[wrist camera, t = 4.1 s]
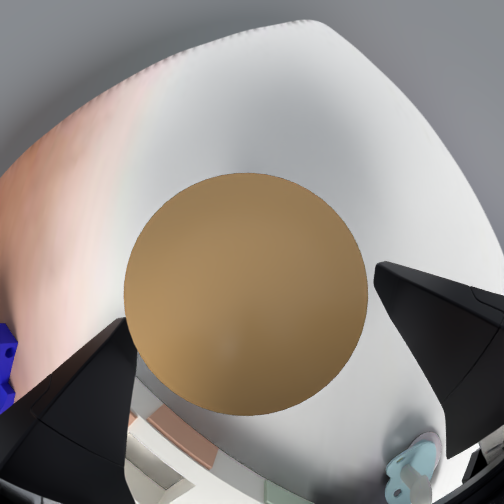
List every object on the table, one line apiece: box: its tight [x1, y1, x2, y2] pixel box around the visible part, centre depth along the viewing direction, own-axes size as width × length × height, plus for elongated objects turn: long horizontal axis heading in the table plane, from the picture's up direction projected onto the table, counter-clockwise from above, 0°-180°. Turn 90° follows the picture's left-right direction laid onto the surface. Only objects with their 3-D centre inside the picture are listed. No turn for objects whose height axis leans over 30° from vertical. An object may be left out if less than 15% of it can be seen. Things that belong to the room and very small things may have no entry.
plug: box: [124, 173, 368, 416], centre depth 11 cm, size 4×4×13 cm
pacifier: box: [385, 432, 441, 504], centre depth 11 cm, size 7×6×6 cm
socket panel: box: [124, 376, 314, 504], centre depth 13 cm, size 20×9×4 cm, turn 49°
